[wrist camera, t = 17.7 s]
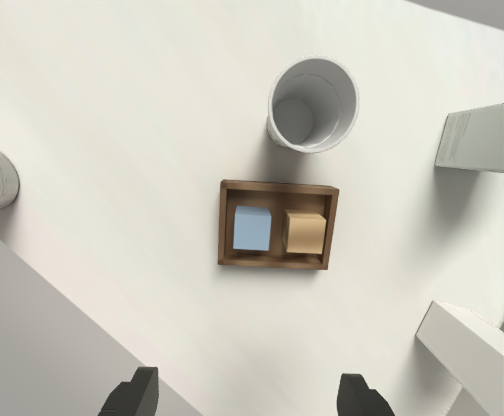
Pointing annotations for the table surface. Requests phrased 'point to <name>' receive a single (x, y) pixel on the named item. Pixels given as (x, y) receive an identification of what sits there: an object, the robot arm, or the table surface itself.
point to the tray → (274, 221)
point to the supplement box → (474, 140)
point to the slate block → (252, 228)
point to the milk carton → (467, 352)
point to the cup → (312, 104)
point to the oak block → (303, 231)
